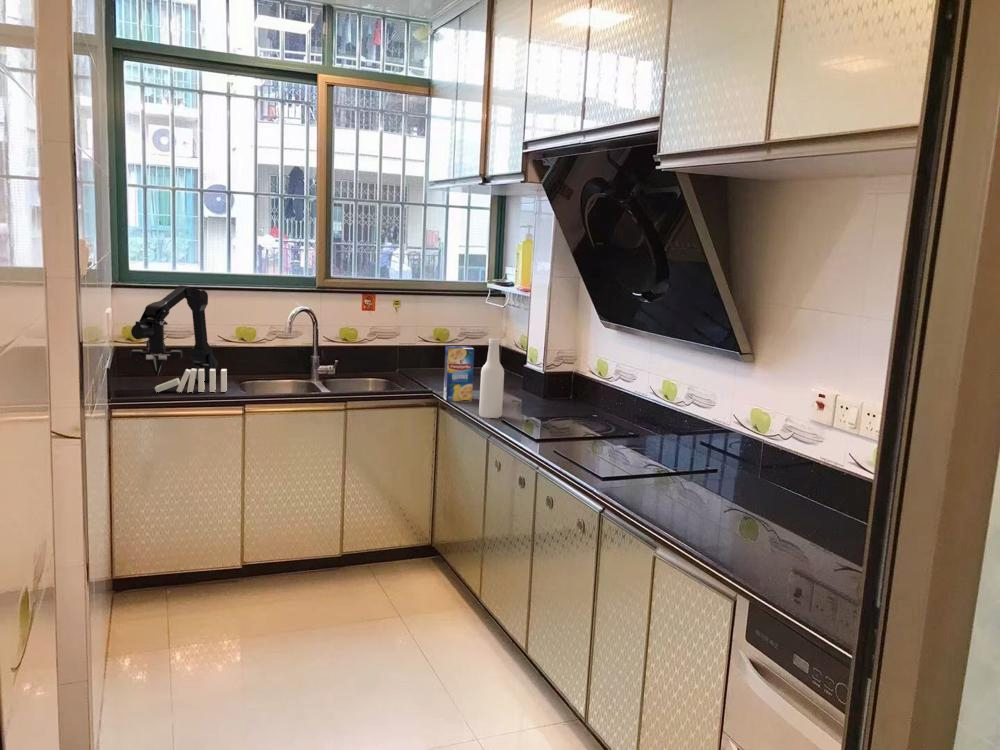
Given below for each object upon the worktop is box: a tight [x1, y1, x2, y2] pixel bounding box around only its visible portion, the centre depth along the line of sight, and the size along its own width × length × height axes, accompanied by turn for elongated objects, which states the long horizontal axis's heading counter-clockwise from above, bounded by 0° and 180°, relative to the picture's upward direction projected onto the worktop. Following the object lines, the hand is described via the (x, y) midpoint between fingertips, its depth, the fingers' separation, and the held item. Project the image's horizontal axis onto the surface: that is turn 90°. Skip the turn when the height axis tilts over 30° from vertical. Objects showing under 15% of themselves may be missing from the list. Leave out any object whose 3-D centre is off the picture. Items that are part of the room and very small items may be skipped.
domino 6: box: [220, 368, 228, 393], centre depth 330 cm, size 2×5×9 cm, turn 16°
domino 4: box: [197, 369, 205, 393], centre depth 328 cm, size 2×5×9 cm, turn 16°
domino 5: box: [209, 368, 217, 393], centre depth 329 cm, size 2×5×9 cm, turn 16°
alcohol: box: [478, 337, 505, 419], centre depth 309 cm, size 9×9×30 cm
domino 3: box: [186, 368, 197, 393], centre depth 327 cm, size 2×5×9 cm, turn 16°
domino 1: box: [154, 377, 181, 393], centre depth 324 cm, size 2×5×9 cm
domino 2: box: [176, 368, 191, 393], centre depth 326 cm, size 2×5×9 cm, turn 16°
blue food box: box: [442, 345, 475, 402], centre depth 339 cm, size 7×11×22 cm, turn 104°
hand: (156, 375), depth 323 cm, fingers closed
